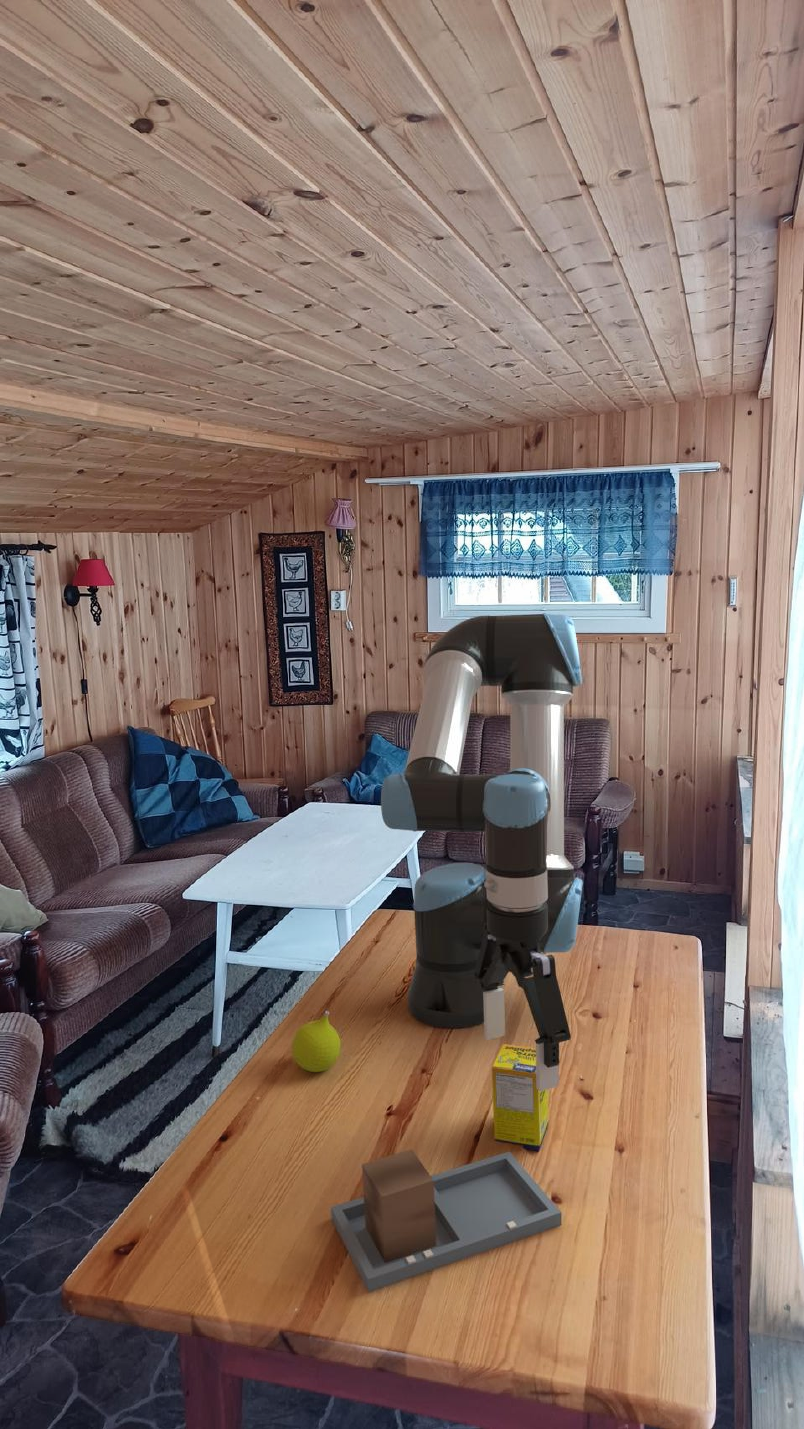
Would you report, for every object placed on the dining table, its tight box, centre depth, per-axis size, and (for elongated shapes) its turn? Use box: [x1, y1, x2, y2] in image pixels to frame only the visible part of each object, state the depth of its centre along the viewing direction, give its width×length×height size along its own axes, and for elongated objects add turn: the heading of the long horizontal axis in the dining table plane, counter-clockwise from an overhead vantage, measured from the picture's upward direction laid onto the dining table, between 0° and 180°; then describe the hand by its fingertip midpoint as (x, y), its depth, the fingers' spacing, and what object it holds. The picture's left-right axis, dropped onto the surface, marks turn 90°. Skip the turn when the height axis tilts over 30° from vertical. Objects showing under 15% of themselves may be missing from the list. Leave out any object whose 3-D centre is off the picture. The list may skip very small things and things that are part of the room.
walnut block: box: [361, 1149, 436, 1263], centre depth 108 cm, size 6×6×8 cm
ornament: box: [291, 1010, 342, 1073], centre depth 143 cm, size 7×7×10 cm
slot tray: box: [330, 1151, 562, 1293], centre depth 110 cm, size 12×23×2 cm, turn 112°
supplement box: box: [491, 1043, 549, 1152], centre depth 126 cm, size 6×6×11 cm
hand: (519, 1060), depth 124 cm, fingers open, 13 cm apart
